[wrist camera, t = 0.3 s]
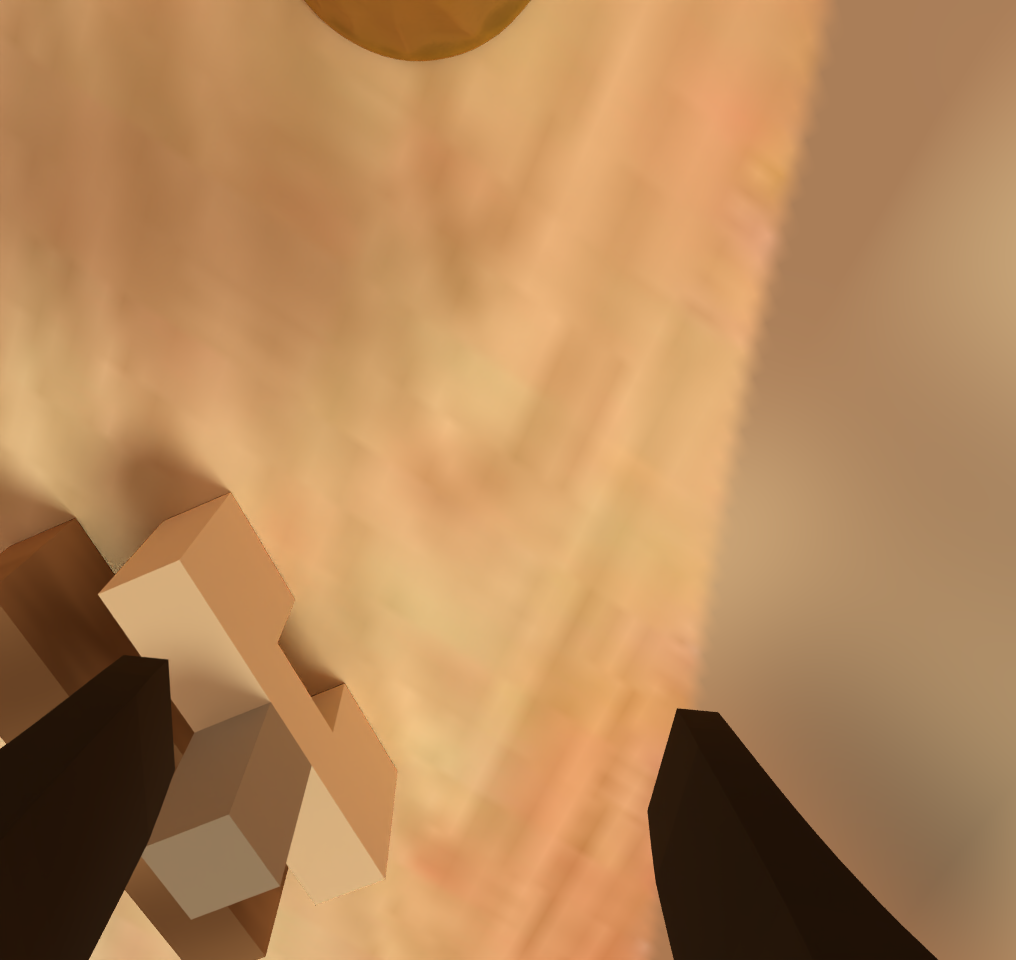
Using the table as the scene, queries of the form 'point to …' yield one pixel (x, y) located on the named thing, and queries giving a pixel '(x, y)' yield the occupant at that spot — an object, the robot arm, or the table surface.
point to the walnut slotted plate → (67, 667)
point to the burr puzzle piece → (248, 726)
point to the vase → (418, 24)
